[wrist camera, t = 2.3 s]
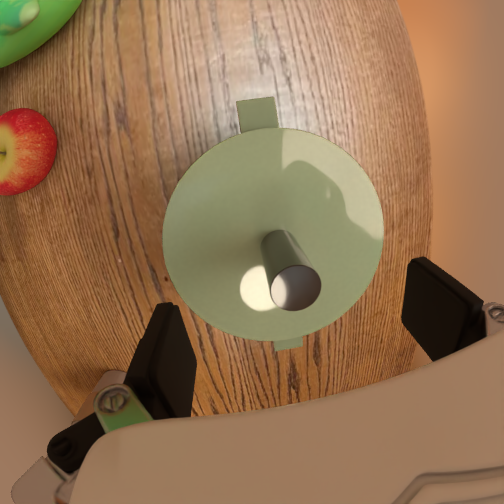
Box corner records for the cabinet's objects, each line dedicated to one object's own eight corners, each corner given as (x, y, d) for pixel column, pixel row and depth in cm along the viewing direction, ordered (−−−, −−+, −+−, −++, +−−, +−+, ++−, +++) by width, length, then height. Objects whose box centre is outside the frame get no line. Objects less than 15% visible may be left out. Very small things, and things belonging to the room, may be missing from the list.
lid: (368, 122, 16) (428, 115, 10) (373, 311, 21) (410, 363, 15) (145, 152, 16) (98, 157, 10) (195, 343, 22) (184, 407, 15)
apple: (81, 117, 21) (17, 111, 12) (60, 196, 24) (-1, 221, 15) (30, 106, 20) (-32, 103, 11) (13, 177, 23) (-46, 195, 13)
